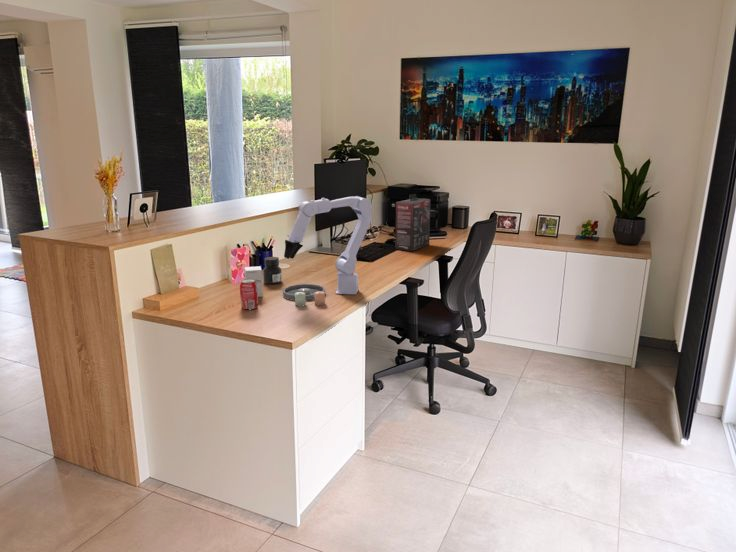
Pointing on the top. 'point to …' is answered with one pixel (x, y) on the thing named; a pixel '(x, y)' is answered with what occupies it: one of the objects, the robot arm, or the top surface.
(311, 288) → the groove tray
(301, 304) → the sage bead
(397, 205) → the headset box
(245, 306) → the soda can
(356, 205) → the robot arm
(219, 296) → the top surface
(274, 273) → the ink bottle
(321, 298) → the terracotta bead
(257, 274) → the supplement box
